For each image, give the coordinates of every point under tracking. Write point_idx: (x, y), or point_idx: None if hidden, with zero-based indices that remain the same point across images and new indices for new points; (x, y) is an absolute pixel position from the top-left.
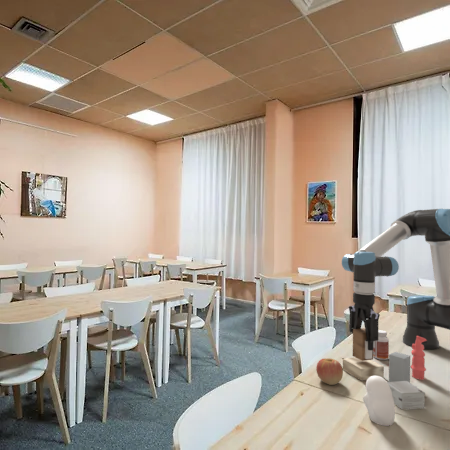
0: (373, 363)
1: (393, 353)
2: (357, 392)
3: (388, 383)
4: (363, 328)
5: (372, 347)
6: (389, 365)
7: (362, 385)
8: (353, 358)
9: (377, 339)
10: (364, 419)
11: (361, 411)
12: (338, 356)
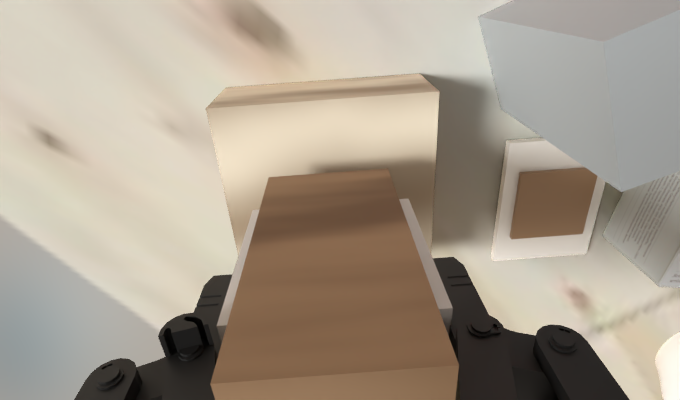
0: (368, 136)
1: (628, 120)
2: (507, 317)
3: (676, 284)
4: (222, 392)
5: (468, 285)
6: (565, 148)
7: (462, 262)
8: (246, 221)
9: (582, 350)
10: (657, 389)
11: (619, 375)
12: (12, 150)
